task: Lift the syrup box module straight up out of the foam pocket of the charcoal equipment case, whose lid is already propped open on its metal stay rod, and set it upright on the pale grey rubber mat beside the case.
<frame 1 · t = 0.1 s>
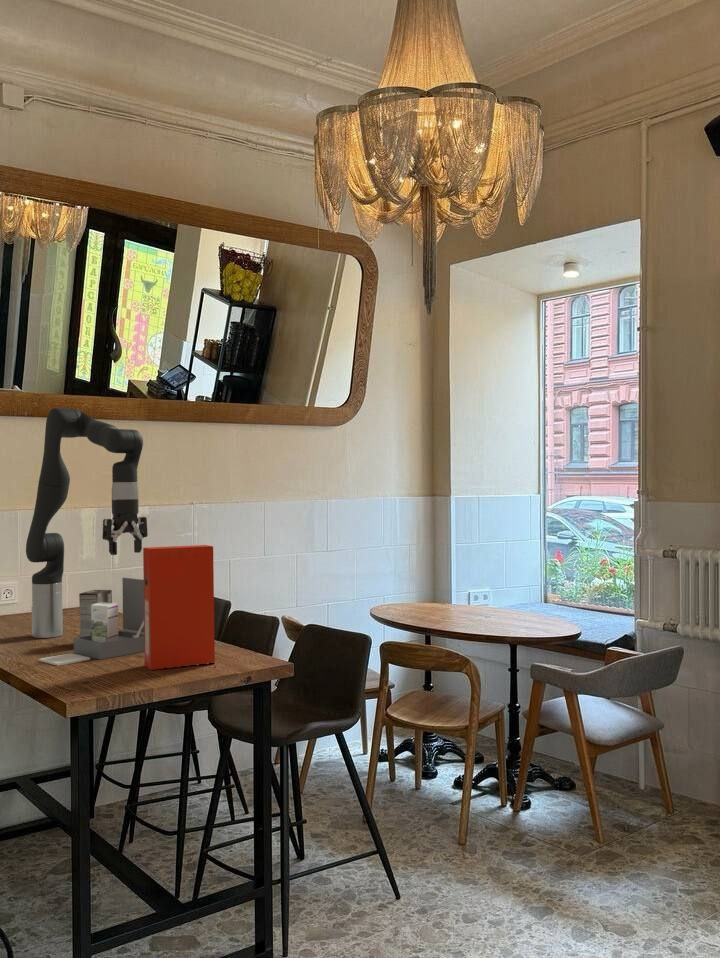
hand: (125, 553, 258), 29 cm above the table, tool pointing down, fingers open, 8 cm apart
syrup box: (105, 653, 258), resting in equipment case
equipment case: (111, 652, 259), on the table
coffee box: (96, 644, 274), on the table
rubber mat: (64, 660, 248), on the table
file binder: (179, 665, 241), on the table
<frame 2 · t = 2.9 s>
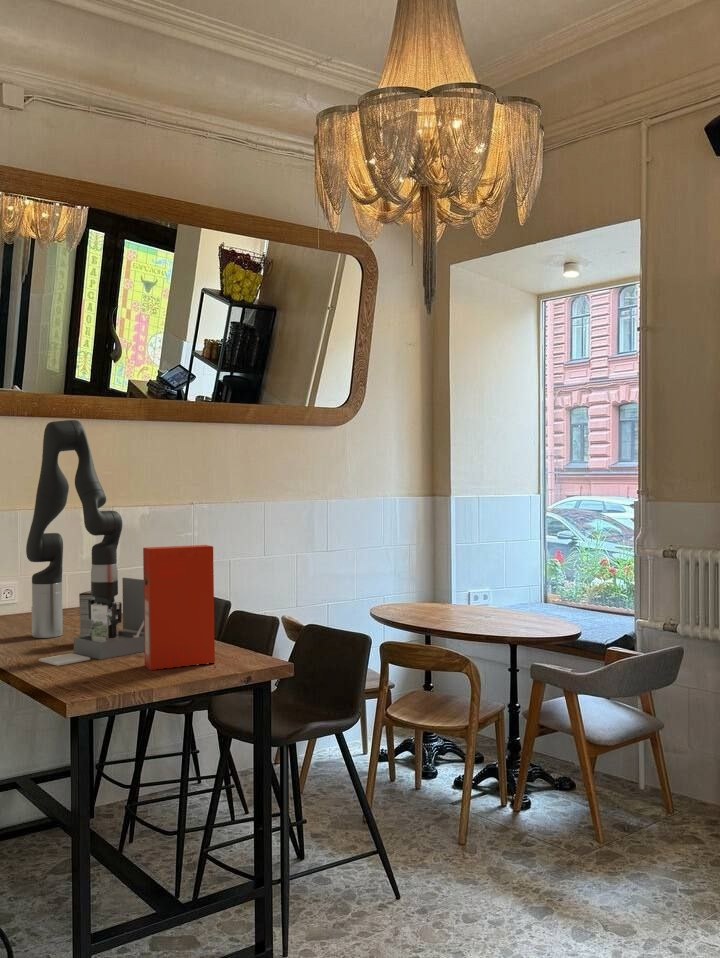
hand: (105, 636, 258), 5 cm above the table, tool pointing down, fingers closed on syrup box, 7 cm apart
syrup box: (105, 653, 258), resting in equipment case, touching gripper
everything else where it was.
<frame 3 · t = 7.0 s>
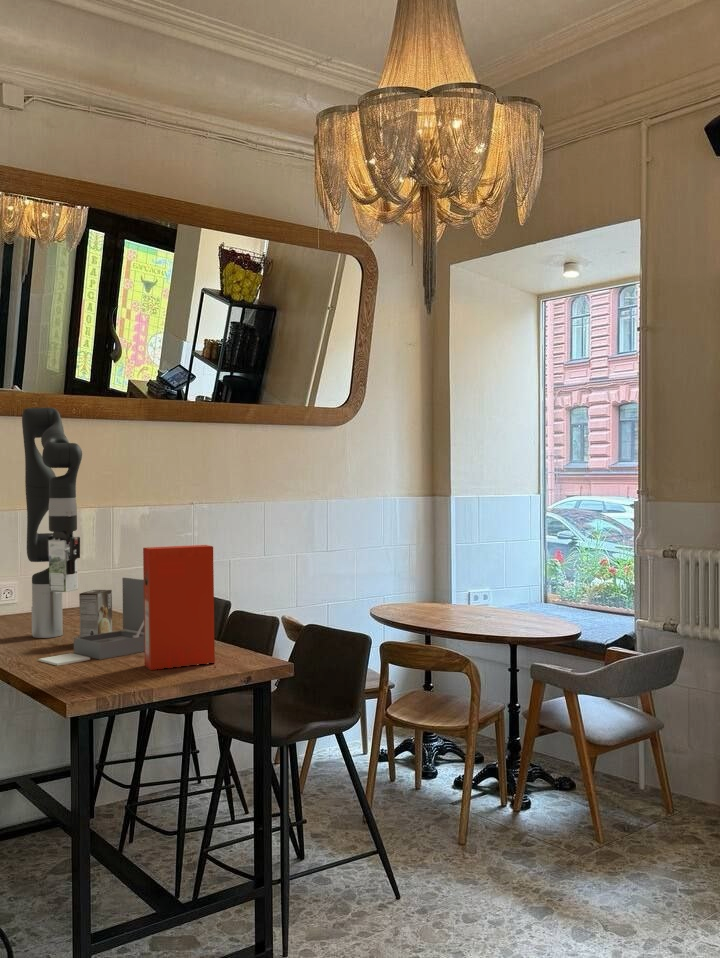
hand: (63, 573, 248), 24 cm above the table, tool pointing down, fingers closed on syrup box, 7 cm apart
syrup box: (63, 591, 248), point 19 cm above the table, touching gripper
everything else where it was.
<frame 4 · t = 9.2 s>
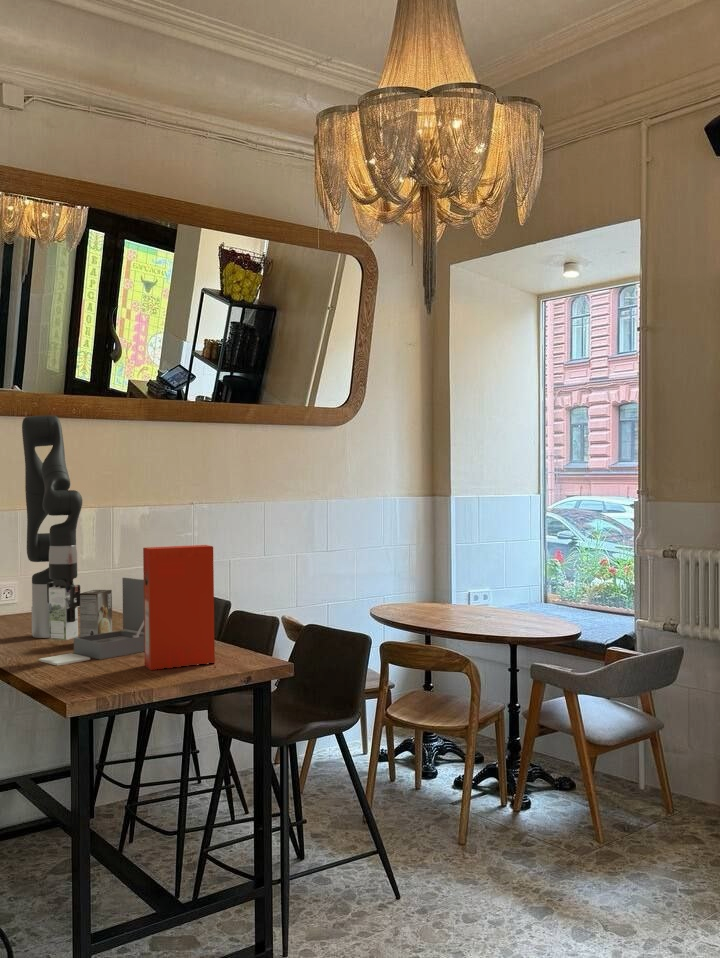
hand: (63, 620, 248), 11 cm above the table, tool pointing down, fingers closed on syrup box, 7 cm apart
syrup box: (64, 638, 248), point 6 cm above the table, touching gripper
everything else where it was.
when the fingers open (7 cm above the table, at t = 11.2 s): syrup box drops 1 cm, resting on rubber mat.
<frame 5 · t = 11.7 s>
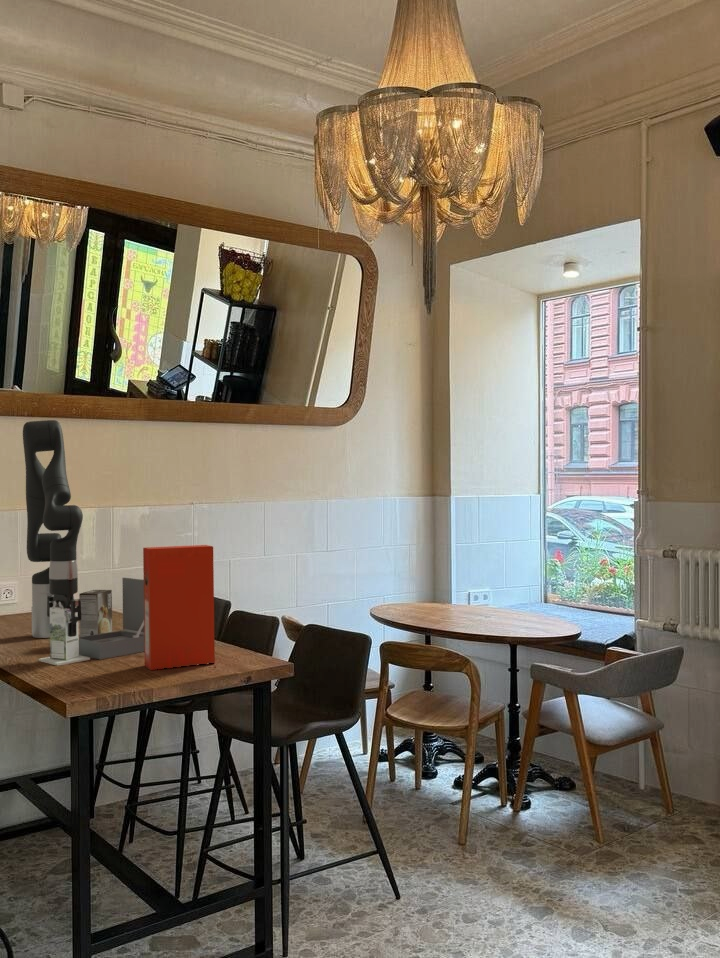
hand: (64, 634, 248), 7 cm above the table, tool pointing down, fingers open, 8 cm apart
syrup box: (64, 658, 248), resting on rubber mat
everything else where it was.
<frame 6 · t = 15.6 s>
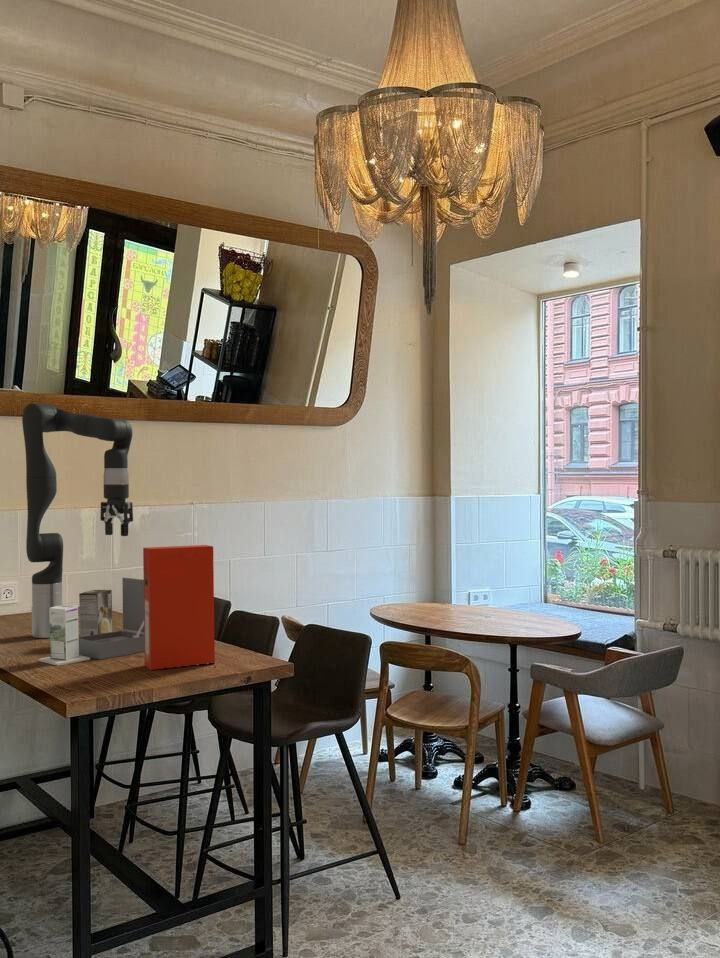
hand: (116, 535, 275), 33 cm above the table, tool pointing down, fingers open, 8 cm apart
nothing on the table moved.
at the end: syrup box 0.1 cm off-centre on the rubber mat, point 0.4 cm above the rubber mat's base; syrup box tilted 0°; the gripper is holding nothing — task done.
